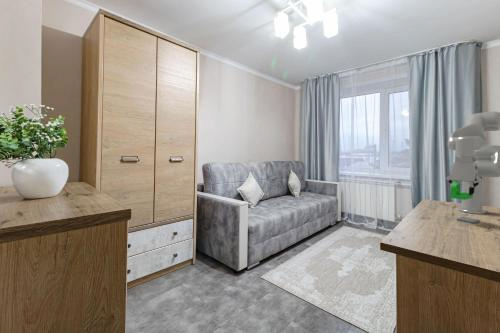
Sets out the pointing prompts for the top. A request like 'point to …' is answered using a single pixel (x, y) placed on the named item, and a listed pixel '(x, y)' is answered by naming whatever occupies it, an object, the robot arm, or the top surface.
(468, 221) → the dark rubber pad
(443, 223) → the top surface
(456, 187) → the mechanical part
